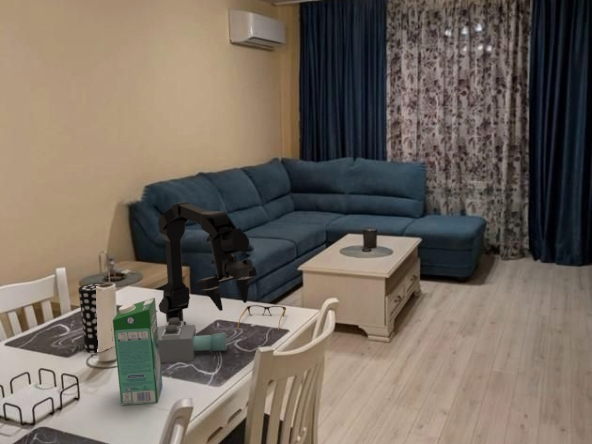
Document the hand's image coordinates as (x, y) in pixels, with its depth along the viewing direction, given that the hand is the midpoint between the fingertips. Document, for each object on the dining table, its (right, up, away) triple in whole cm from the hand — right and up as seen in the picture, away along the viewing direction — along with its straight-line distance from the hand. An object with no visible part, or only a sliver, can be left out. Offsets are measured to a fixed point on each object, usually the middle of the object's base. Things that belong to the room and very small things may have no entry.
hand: (233, 306), depth 167 cm
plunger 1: (-19, -6, +6) cm, 21 cm away
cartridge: (-13, -14, +5) cm, 20 cm away
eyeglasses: (+7, -10, +29) cm, 32 cm away
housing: (-18, -15, +5) cm, 24 cm away
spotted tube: (-44, -15, +12) cm, 48 cm away
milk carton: (-21, -20, -20) cm, 36 cm away
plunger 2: (-18, -7, 0) cm, 20 cm away
